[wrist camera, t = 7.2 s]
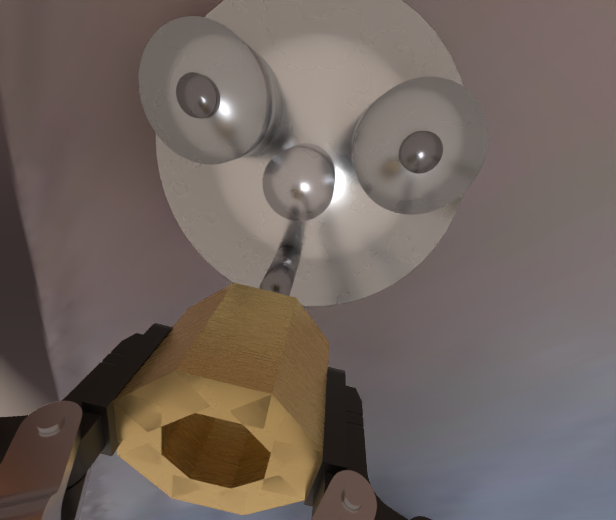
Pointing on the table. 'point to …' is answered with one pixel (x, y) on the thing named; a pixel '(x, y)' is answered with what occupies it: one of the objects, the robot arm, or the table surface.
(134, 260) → the table surface
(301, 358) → the planet gear
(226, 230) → the carrier
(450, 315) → the table surface
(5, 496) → the robot arm
